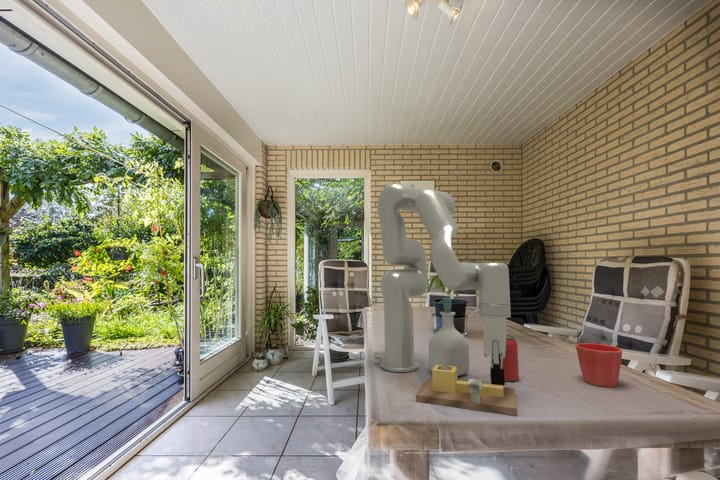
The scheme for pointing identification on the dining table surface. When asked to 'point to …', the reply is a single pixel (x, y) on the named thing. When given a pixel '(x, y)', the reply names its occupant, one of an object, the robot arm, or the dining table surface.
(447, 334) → the soap bottle
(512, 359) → the beer can
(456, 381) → the link
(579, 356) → the flower pot
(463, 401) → the bracket base
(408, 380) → the dining table surface
